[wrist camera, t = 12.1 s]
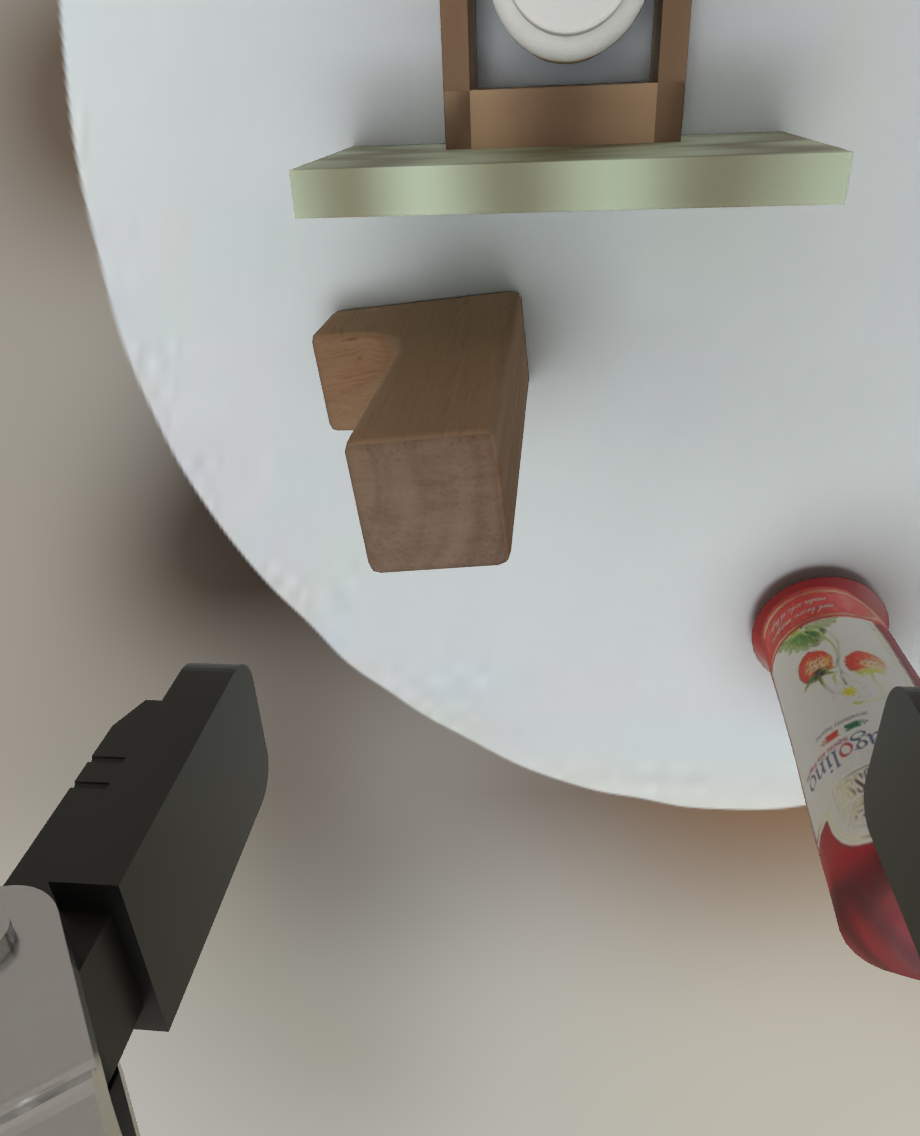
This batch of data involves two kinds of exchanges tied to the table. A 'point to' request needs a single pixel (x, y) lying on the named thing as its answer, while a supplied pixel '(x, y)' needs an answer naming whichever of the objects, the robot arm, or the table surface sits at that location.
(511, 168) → the board
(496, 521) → the wooden block
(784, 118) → the table surface
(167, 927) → the robot arm
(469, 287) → the table surface
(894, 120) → the table surface
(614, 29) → the supplement bottle
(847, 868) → the liquor
